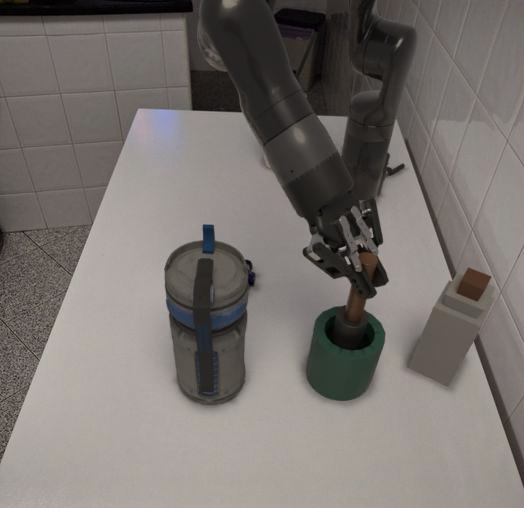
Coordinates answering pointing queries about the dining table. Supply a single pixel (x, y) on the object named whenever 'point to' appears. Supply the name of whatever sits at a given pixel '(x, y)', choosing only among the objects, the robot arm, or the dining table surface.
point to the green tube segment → (342, 359)
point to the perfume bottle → (453, 326)
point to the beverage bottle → (208, 317)
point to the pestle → (353, 312)
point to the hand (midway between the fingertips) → (375, 290)
